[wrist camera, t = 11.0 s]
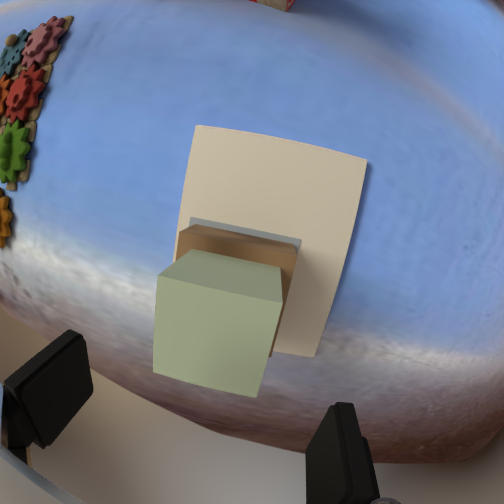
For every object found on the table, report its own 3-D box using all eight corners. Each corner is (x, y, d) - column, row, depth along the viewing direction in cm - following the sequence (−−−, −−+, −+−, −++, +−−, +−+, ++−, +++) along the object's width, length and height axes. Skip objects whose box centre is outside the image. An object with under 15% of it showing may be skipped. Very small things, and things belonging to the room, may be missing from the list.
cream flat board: (365, 160, 21) (367, 159, 20) (313, 354, 25) (313, 358, 24) (197, 126, 21) (195, 124, 21) (168, 323, 25) (166, 326, 25)
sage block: (280, 267, 19) (282, 303, 13) (261, 343, 20) (256, 397, 14) (192, 248, 19) (157, 275, 13) (182, 325, 20) (153, 371, 14)
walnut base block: (293, 244, 22) (297, 256, 18) (271, 332, 24) (270, 357, 20) (195, 223, 22) (179, 231, 19) (183, 312, 24) (168, 333, 20)
